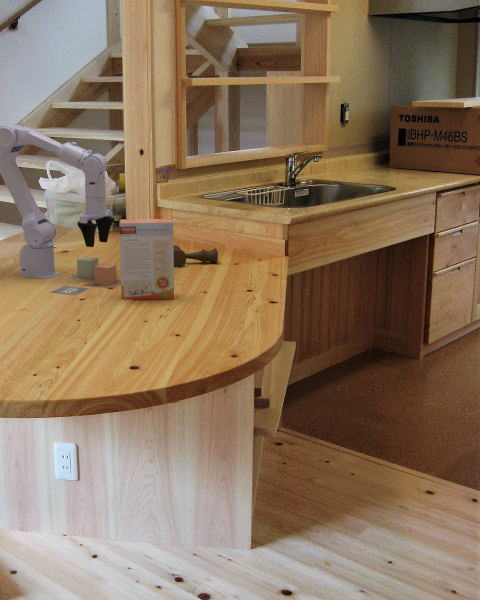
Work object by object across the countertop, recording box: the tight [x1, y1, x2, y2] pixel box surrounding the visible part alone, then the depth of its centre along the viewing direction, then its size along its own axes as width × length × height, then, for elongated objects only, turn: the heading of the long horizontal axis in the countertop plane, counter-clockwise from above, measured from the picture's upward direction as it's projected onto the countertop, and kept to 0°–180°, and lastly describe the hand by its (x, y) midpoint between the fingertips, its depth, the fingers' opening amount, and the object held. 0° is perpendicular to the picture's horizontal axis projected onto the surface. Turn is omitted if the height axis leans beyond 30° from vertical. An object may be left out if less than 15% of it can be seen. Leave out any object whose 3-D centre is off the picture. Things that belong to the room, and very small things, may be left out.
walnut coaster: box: [84, 279, 121, 289], centre depth 224 cm, size 9×9×1 cm
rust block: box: [94, 263, 118, 285], centre depth 224 cm, size 4×4×5 cm
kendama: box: [173, 244, 219, 268], centre depth 251 cm, size 6×10×20 cm
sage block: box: [76, 256, 100, 278], centre depth 232 cm, size 4×4×5 cm
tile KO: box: [48, 285, 90, 296], centre depth 216 cm, size 8×8×1 cm
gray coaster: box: [69, 274, 95, 281], centre depth 233 cm, size 8×8×1 cm
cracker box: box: [118, 218, 175, 301], centre depth 209 cm, size 14×6×21 cm, turn 97°
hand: (96, 244), depth 228 cm, fingers open, 7 cm apart
